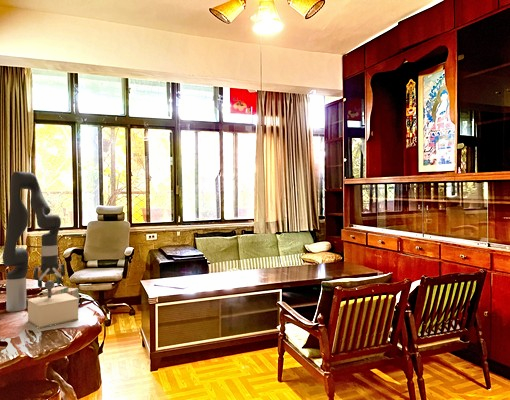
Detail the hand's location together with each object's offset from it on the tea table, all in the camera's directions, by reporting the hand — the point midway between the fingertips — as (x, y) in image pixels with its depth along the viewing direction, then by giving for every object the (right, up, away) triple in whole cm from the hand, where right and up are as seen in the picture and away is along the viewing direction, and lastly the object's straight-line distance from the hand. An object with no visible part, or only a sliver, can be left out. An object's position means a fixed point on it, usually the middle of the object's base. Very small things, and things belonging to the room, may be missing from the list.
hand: (49, 286), depth 196 cm
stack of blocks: (-2, -17, +16) cm, 23 cm away
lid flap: (+4, -6, -3) cm, 8 cm away
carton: (+3, -16, -3) cm, 17 cm away
